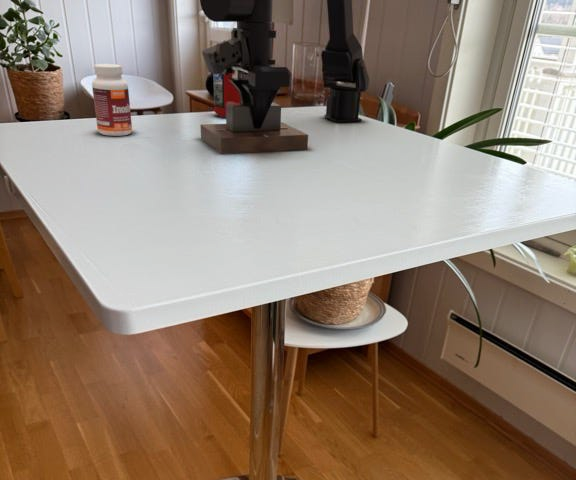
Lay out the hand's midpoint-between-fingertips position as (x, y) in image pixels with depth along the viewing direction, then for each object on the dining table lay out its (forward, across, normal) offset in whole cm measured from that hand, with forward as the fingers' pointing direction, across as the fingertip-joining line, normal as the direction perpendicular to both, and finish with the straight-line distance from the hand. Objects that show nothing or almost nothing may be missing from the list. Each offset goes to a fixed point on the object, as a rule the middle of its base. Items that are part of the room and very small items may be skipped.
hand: (253, 126), depth 100 cm
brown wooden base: (+3, 0, 0) cm, 3 cm away
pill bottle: (+3, -14, -22) cm, 26 cm away
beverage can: (+3, -28, +5) cm, 29 cm away
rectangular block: (0, 0, 0) cm, 0 cm away
